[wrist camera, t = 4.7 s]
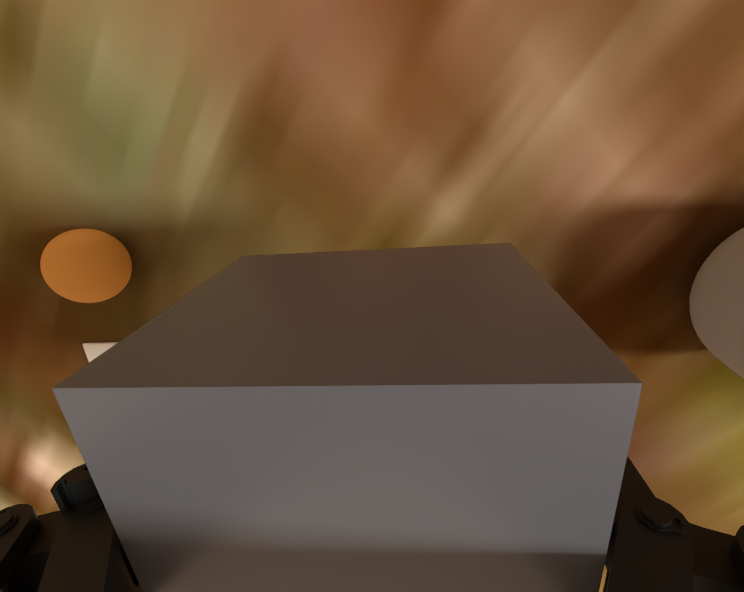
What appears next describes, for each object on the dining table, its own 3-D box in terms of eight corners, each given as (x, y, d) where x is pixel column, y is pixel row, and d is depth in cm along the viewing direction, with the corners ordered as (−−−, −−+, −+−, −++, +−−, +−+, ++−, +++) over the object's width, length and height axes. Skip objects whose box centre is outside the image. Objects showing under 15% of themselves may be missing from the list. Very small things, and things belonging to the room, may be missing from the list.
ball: (71, 224, 28) (5, 239, 23) (136, 220, 28) (81, 235, 23) (94, 289, 30) (36, 316, 25) (155, 286, 29) (107, 313, 25)
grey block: (242, 256, 15) (51, 388, 7) (510, 242, 14) (642, 382, 6) (283, 457, 19) (188, 693, 11) (498, 460, 18) (570, 727, 10)
